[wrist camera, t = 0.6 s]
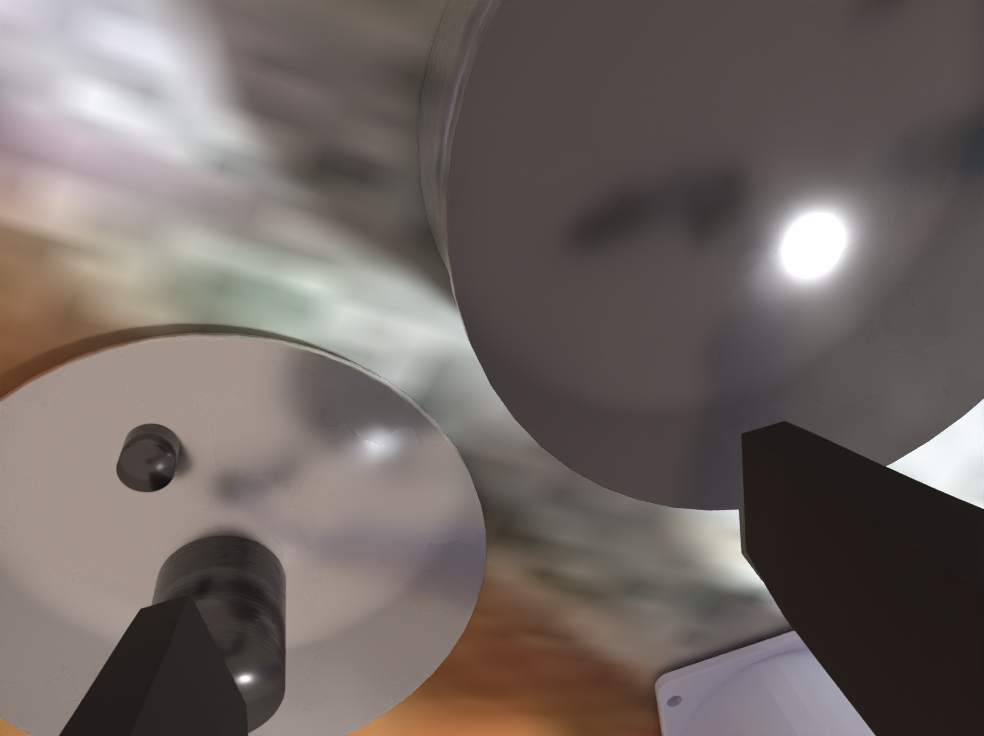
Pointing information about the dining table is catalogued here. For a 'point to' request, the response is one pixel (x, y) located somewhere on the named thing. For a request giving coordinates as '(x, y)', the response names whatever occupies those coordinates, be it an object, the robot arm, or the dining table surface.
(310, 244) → the dining table surface
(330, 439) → the lid
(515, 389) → the cooking pot
